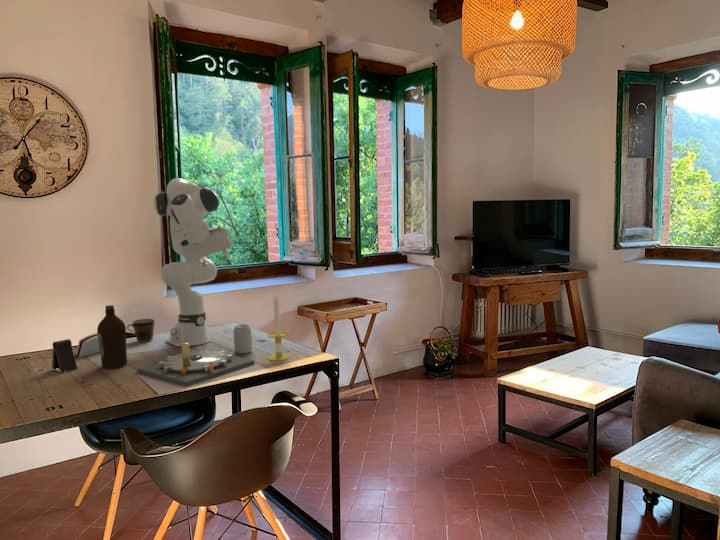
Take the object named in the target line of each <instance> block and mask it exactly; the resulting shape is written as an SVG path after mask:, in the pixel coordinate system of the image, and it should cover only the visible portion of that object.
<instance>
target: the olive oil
mask: <svg viewBox="0 0 720 540" xmlns="http://www.w3.org/2000/svg"><path fill="white" fill-rule="evenodd" d="M115 313H116V312H115V306H114V305H109V304H108V305H105V316H104V317H103V318H102V319H101V321H100V322H98V326H97V328H96V329H97V332H96V333H97V334H98V340H99V347H100V352H99V354H100V360H101V361H100V362H101V368H102V369H105V370H106V369H107V370H112V369H113V370H114V369H119V368H122V367H123V368H124V367H125V366H127V365H128V358H127V357H128V356H127V355H128V354H127V334H126V333H127V330H126V329H127V326H126V324H125V322H124V321H123V319H121V318H120V317H119V316H117V315H116V314H115Z"/></svg>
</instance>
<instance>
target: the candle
mask: <svg viewBox="0 0 720 540" xmlns="http://www.w3.org/2000/svg"><path fill="white" fill-rule="evenodd" d="M273 314H274V315H273V316H274V331H275V332H271V333H269V334H268V335H267V337H268V338H270V339H271V338H272V339H274V340H275V341H274V343H275V344H274V345H275V353H274V354H271V355H268V356H267V357H266V359H267V360H268V361H271V362H272V361H273V362H279V361H287V360H289V359H291V357H292V355H291V354H289V353H283V349H282V348H283V347H282V344H283V343H282V338H286V337H288V335H289V333H288V332H286V331H285V332H283V331H281V320H280V319H281V317H280V315H281V314H280V301H279V299H278V295H275V297H274V299H273Z"/></svg>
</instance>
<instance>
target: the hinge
mask: <svg viewBox="0 0 720 540" xmlns="http://www.w3.org/2000/svg"><path fill="white" fill-rule="evenodd" d="M98 353H100V347H99V340H98V334H97V332H95V333H90V334H88V335H86V336H84V337H83V338H81V339H79V341H78V345H77V347H76V351H75V352H73V354H74V357H76V356H78V358H83V357H88V356H91V355H94V354H98Z"/></svg>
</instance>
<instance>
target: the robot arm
mask: <svg viewBox="0 0 720 540" xmlns="http://www.w3.org/2000/svg"><path fill="white" fill-rule="evenodd" d="M153 206H154V209H155V211H156V212H157V215H159V216H162V217H167V216H169V217H170V218H169V219H170V220H169V228H170V229H169V230H170V237H171V238H170V239H171V243H172V249H173V250H174V252H175V253H177V254H178V255H181V256H183V257H184V259H185V261H174V262H170V263H167V264H164V265H163V267H162V268H161V271H160V278H161V280H162V282H163V283H164V284H165V285H166V286H168V287H170V288H171V289H172V290H173V291H174V293H175V294H176V296H177V299H178V305H179V314H177V318H178V319H177V322H176V323H175V325H173V326H172V328H170V331H169V332H170V333H169V334H170V335H169V338H167V339H165V341H164V342H165V343H168V344H170V345H173V346H175V347H181V343H184V342H189V347H191V346H200V345H203V344H207V343H209V342H210V341H211V340H212V336H211V335H210V332H209V326H208V322H207V321H206V320H207V313H206V311H205V302H204V301H205V300H204V299H205V298H204V296H203V295H202V294H201V293H200V292H198V291H195V290H192V288H191V285H194V284H197V285H198V284H204V283H209V282H212V281H214V280H215V278H216V277H217V274H218V269H217V266H216V264H215V262H213V260H211V259H209V258H207V256H210V255H213V254H216V253H219V252H222V253H224V254H223V255H222V259H223V260H224V261H226V260H228V259H229V255H228V249H230V248H232V247H233V243H234V241H233V239H232V237H231V236H230V235H229V234H228V231H227V229H226V228H225V227H223V226H217V227H214V228H212V229H211V228H210V227H209V225H208V223H207V221H206V220H205V219H204V216H206V215H207V214H210V213H213V212H215V211H217V210H218V208H219V206H220V201H219V197H218V195H217V194H216V192H215V191H214V190H213V189H212V188H211V187H206V186H204V185H202V184H200V183H198V182H197V183H196V182H195V183H194V182H193V183H191V182H188V180H186V179H184V178H180V177H176V178H173V179H171V180H169V182H168V183H167V185H166V191H164V190H162V191H161V192H160V193H157V194H156V195H155V197H154V200H153Z"/></svg>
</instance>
